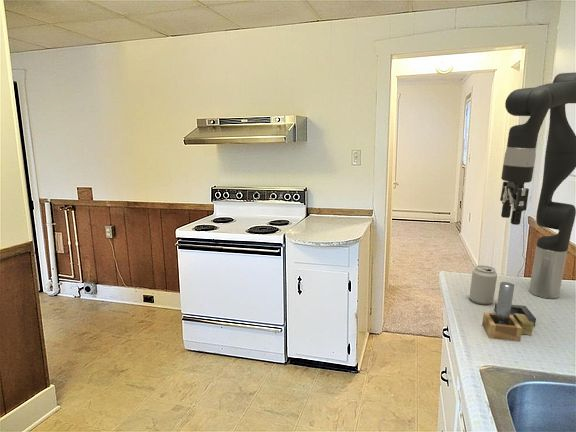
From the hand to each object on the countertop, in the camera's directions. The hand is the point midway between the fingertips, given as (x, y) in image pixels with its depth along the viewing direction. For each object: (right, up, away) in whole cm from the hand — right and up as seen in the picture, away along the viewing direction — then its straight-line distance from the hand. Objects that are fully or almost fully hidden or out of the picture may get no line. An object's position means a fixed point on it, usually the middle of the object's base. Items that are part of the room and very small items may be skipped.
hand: (509, 220), depth 117 cm
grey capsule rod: (-2, -33, +2) cm, 33 cm away
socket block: (+7, -31, +11) cm, 33 cm away
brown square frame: (-2, -33, +2) cm, 33 cm away
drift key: (+6, -32, +4) cm, 33 cm away
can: (+2, -28, +23) cm, 36 cm away
